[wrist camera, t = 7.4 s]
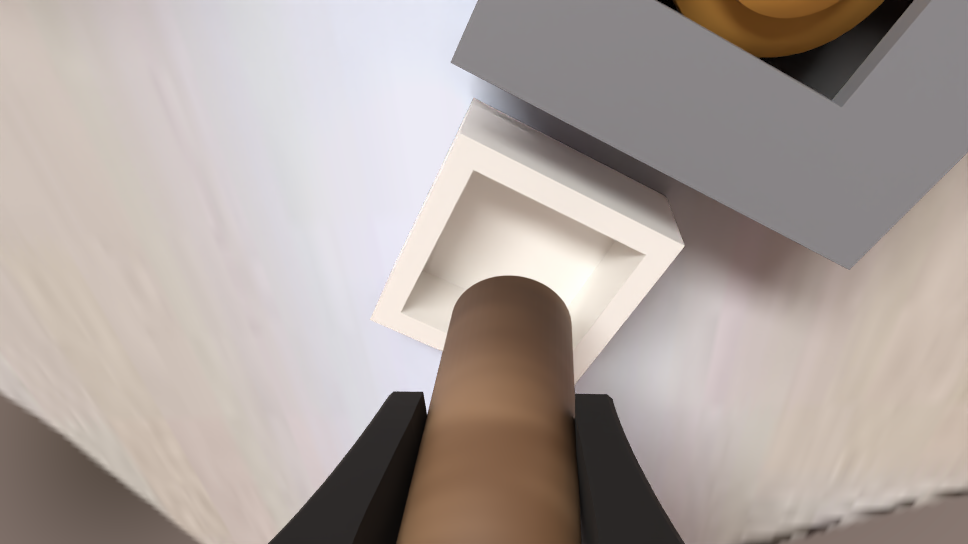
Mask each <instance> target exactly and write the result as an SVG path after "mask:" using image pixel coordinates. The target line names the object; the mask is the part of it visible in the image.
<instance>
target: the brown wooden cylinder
mask: <svg viewBox="0 0 968 544" xmlns="http://www.w3.org/2000/svg"><path fill="white" fill-rule="evenodd" d="M396 544H581V522H580V499H579V480H578V469H577V458H576V434H575V387H574V365H573V343H572V322H571V316H570V313H569V310H568V308H567V306H566V305H565V303H564V302H563V300H562V299H561V298H560V297H559V296H558V295H557V293H555V292H554V291H553V290H552V289H550V288H549V287H547V286H546V285H544V284H542V283H540V282H538V281H536V280H533V279H530V278H526V277H521V276H513V275H505V276H496V277H491V278H487V279H485V280H482V281H480V282H478V283H476V284H474V285H472V286H471V287H470V288H468V289H467V290H466V291H465V292H464V293H463V294H462V295H461V296H460V297H459V299H458V300H457V302H456V304H455V306H454V309H453V311H452V316H451V320H450V324H449V328H448V332H447V336H446V340H445V344H444V348H443V353H442V357H441V361H440V365H439V369H438V373H437V377H436V381H435V386H434V390H433V394H432V398H431V402H430V406H429V410H428V414H427V418H426V423H425V427H424V431H423V435H422V439H421V443H420V447H419V451H418V456H417V460H416V464H415V468H414V472H413V476H412V480H411V484H410V488H409V493H408V497H407V501H406V505H405V509H404V513H403V517H402V521H401V526H400V530H399V534H398V538H397V542H396Z"/></svg>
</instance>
